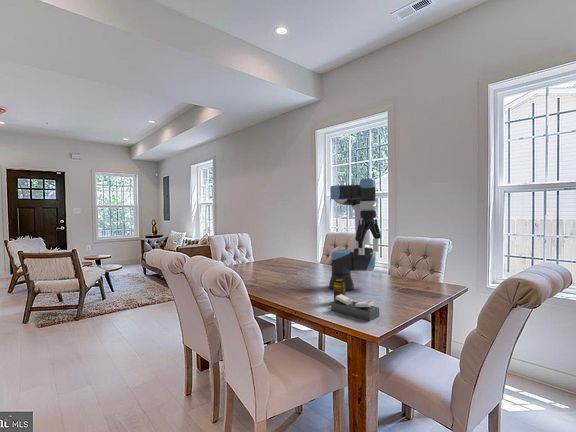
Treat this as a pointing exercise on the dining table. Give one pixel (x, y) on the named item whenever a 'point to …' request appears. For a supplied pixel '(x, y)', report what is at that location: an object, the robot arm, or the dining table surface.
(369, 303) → the block
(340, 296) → the rocker
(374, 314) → the power strip
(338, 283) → the condiment
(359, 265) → the robot arm
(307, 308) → the dining table surface
